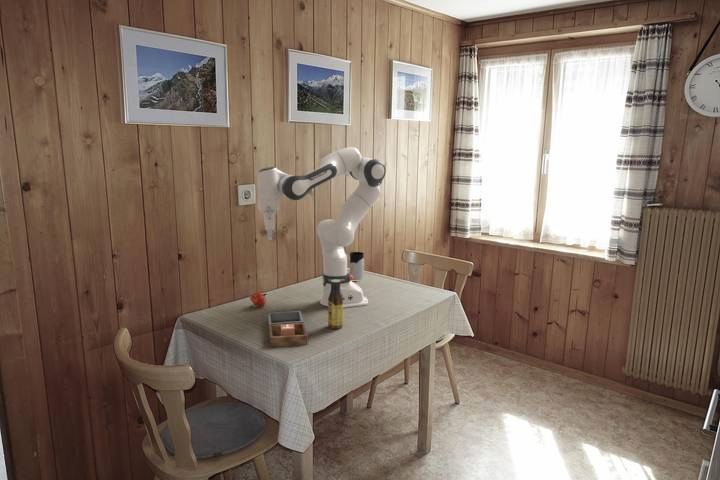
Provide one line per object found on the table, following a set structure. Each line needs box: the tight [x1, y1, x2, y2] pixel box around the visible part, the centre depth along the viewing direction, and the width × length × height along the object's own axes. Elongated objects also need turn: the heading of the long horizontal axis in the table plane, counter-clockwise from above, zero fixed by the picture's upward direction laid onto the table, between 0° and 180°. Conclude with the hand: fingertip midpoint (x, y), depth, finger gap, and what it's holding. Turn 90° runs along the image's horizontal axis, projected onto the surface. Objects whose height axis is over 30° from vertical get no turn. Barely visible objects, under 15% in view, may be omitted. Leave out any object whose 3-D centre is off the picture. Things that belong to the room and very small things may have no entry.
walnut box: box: [268, 322, 308, 348], centre depth 194 cm, size 14×14×4 cm
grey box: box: [267, 310, 305, 333], centre depth 208 cm, size 14×14×4 cm
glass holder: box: [345, 251, 365, 280], centre depth 279 cm, size 9×14×15 cm, turn 59°
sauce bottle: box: [327, 279, 344, 330], centre depth 205 cm, size 6×6×20 cm
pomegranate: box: [249, 292, 268, 309], centre depth 231 cm, size 7×7×10 cm
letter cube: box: [280, 324, 296, 336], centre depth 194 cm, size 5×5×5 cm
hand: (269, 237), depth 216 cm, fingers open, 8 cm apart
